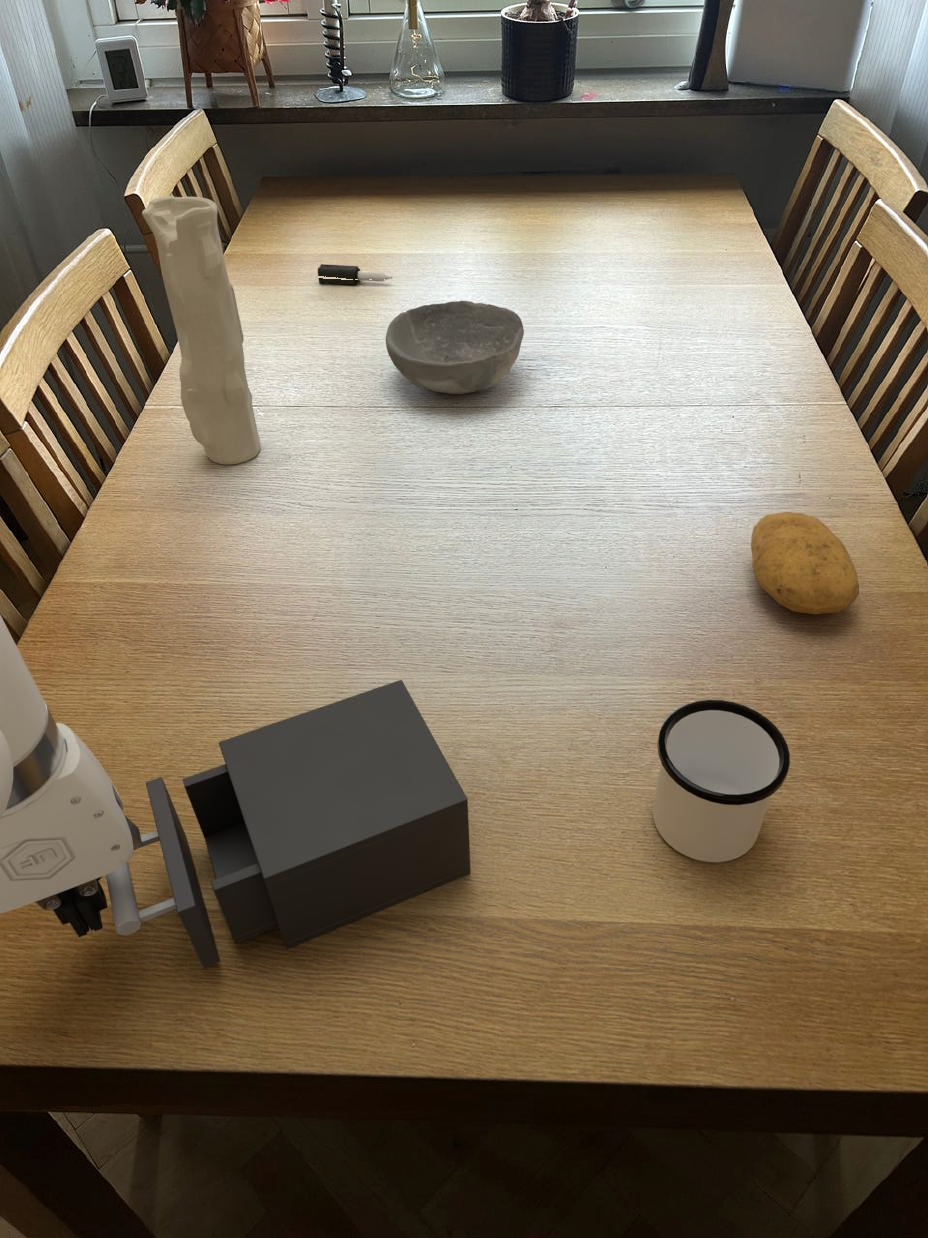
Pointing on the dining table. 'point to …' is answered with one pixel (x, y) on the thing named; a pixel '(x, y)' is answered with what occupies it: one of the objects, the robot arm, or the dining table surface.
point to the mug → (716, 778)
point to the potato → (803, 564)
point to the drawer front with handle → (230, 861)
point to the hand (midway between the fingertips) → (88, 915)
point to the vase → (205, 327)
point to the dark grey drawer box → (348, 810)
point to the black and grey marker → (348, 274)
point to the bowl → (455, 345)
